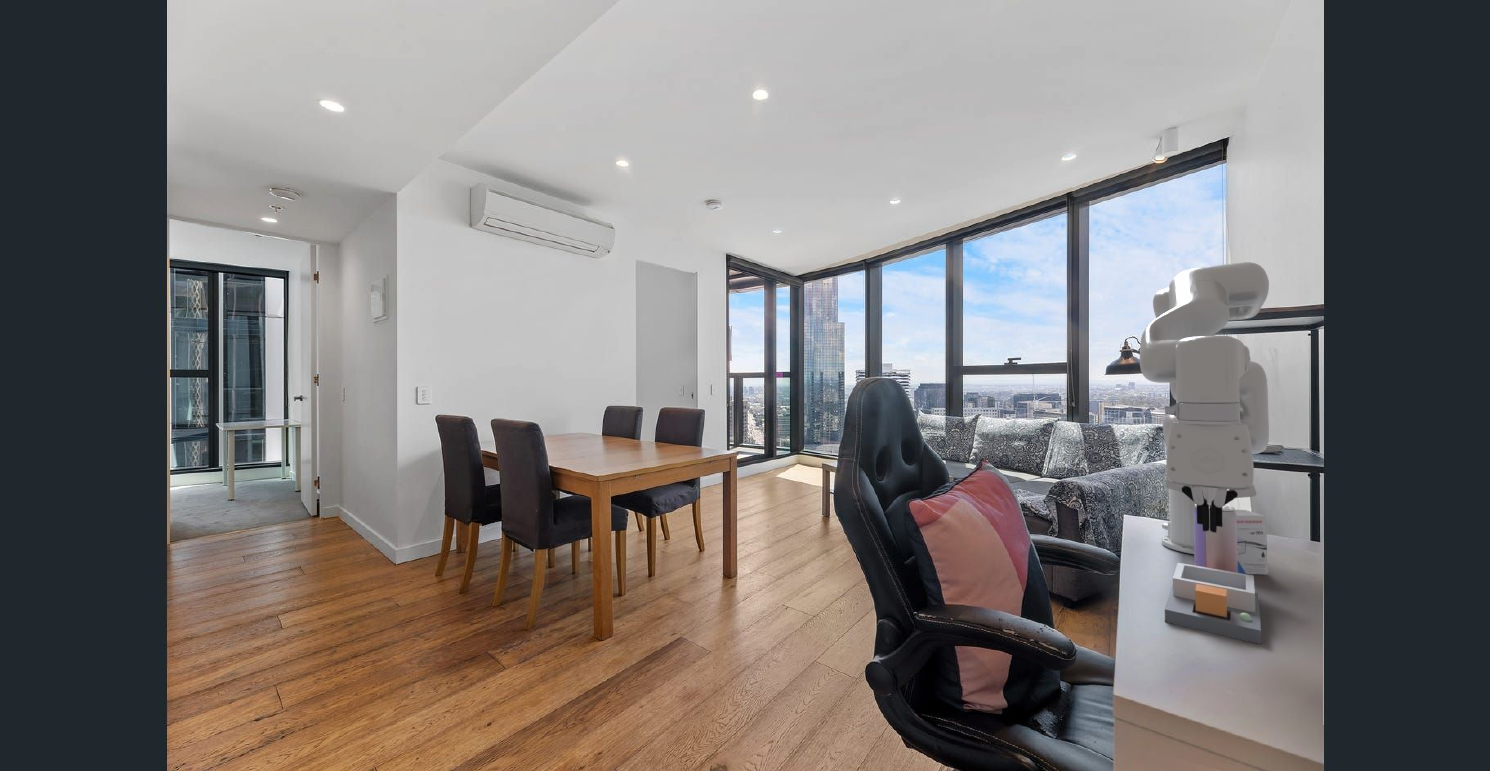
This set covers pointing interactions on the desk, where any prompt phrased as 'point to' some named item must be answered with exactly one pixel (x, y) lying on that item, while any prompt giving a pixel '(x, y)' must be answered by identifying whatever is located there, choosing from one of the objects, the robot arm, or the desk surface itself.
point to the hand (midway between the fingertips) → (1209, 529)
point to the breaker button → (1211, 600)
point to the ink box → (1251, 543)
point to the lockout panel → (1236, 625)
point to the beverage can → (1217, 542)
